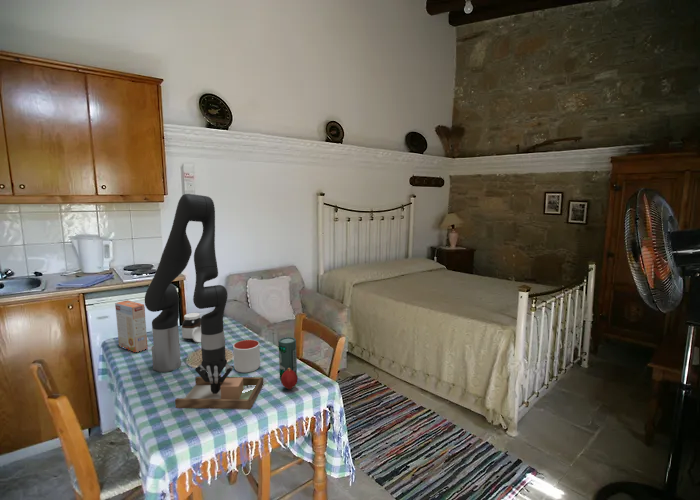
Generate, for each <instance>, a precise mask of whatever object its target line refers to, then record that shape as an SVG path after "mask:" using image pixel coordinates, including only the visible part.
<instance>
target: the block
mask: <svg viewBox="0 0 700 500" xmlns="http://www.w3.org/2000/svg"><path fill="white" fill-rule="evenodd" d="M243 390H244V388H243V378H226V379H225V380H224V382H223V383H222V385H221V399H239V398H240V396H241V394H242V391H243Z"/></svg>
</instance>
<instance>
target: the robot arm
mask: <svg viewBox="0 0 700 500" xmlns="http://www.w3.org/2000/svg"><path fill="white" fill-rule="evenodd" d="M214 203H215V202H214V200H213V198H211V197H210V196H207V195H201V194H191V193H184V194H182V195H181V197H180V198H179V200H178V202H177V206H176V210H175V214H174V217H173V222H172V226H171V230H170V232H169V235H168V238H167V241H166V244H165V246H164V248H163V251H162V254H161V257H160V260H159V264H158V266H157V268H156V271H155V273H154V276H153V277H152V280H151V282H150V283H149V285H148V287H147V289H146V292H145V295H144V307H145V308H146V309H147V310H148V311H149V312H151V313H152V312H153V313H155V312H157V313H158V312H160V313H159V314H158V315H157V316H156V317H154V318H153V319H152V321H151V329H152V330H151V331H152V341H153V345H152V346H151V358H152V359H151V360H152V369H153V371H156V372H158V373H159V372H160V373H167V372H172V371H175V370H177V369H179V368H180V367H181V366H182V360H181V350H180V349H181V348H180V346H181V345H180V335H179V334H180V333H179V332H180V331H179V318H180V297H179V292H178V289H177V288H176V287H175V286H174V285H172V284H171V283H172V282H173V281H175V280H176V279H177V278H178V277H179V276H180V275H181V274H182V273H183V272H184V271H185V269H186V267H187V266H188V264H189V261H190V260H191V256H192V252H193V250H192V249H193V248H192V244H191V243H190V240H189V237H188V235H187V227H188V224H189V223H190V222H196V223H197V222H199V223H201V225H202V232H201V233H202V234H201V237H200V239H199V241H198V243H197V245H196V248H195V250H194V253H193V264H194V270H195V285H194V291H193V296H192V297H193V298H192V301H193V304H194V306H195V307H196V308H198V309H199V310H202V309H203V310H204V309H210V308H214V309H213V310H212V311H209V312H208V313H205V314H203V315H202V316H200V318H201V342H200V346H201V347H200V348H201V349H200V350H201V359H202V360H201V362H200V363H201V364H198V366H197V367H195V369H194V370H195V372H196V373H197V374H198V376H199V377H202V379H203V380H204V381H205V382H210V385H211V392H212V393H213V394H217V393H218V392H219V391H220V389H221V388H220V382H223V381H224V380H225V378H226V377H229V375H230V373H231V372H232V371H233V369H235V368H234V365H230V364H228V360H227V358H226V354H227V353H226V339H225V337H226V336H225V331H224V314H225V309H226V305H227V301H228V290H227V288H226V287H225V286H224V285H221V284H218V285H217V284H216V285H209V286H205V283H206V282H208V281H211V280H214V279H217V278H218V277H219V269H218V262H217V257H216V210H215V209H216V208H215V204H214ZM223 370H224V372H225V373H224V374H223V375H222V371H223Z"/></svg>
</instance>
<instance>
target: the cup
mask: <svg viewBox="0 0 700 500" xmlns="http://www.w3.org/2000/svg"><path fill="white" fill-rule="evenodd" d="M260 349H261V348H260V341H257V340H255V339H244V340H240V341H236V342H235V343H234V344H233V345H232V350H233V351H232V352H233V367H234V368H233V369H234V370H235V371H236V372H238V373H243V374H246V373H252V372H254V371H257V370H258V369H259V368H260V367H261V354H260V353H261V350H260Z"/></svg>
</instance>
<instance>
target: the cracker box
mask: <svg viewBox="0 0 700 500" xmlns="http://www.w3.org/2000/svg"><path fill="white" fill-rule="evenodd" d="M114 304H115V316H116V327H117V337H118V339H117V341H118V347H119V346H121V347H124V348H126V349H128V350H127V351H129V350H131V351H133V352H132V353H134V352H137V353H140V352H143V351H146V350H148V349H149V347H148V336H147V335H148V334H147V333H148V332H147V322H146V309H145V308H146V306H145V303H144V304H143V303H139V302H136V301H131V300H128V299H127V300H123V301H118V302H115V303H114ZM121 347H120V348H121ZM126 349H125V350H126ZM145 349H146V350H145ZM142 350H143V351H142ZM131 351H130V352H131ZM139 351H140V352H139Z"/></svg>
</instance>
